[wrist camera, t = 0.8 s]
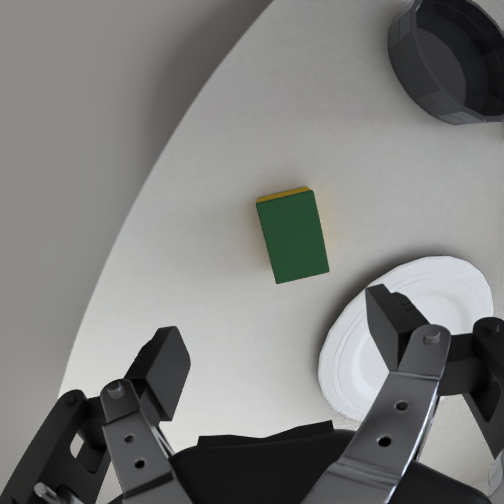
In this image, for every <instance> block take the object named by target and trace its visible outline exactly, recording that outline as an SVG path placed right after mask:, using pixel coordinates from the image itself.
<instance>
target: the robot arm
mask: <svg viewBox="0 0 504 504" xmlns="http://www.w3.org/2000/svg"><path fill="white" fill-rule="evenodd" d="M365 299H366V311H367V322H368V328H369V331H370V334H371V336H372V338H373V340H374V342H375V344H376V346H377V348H378V350H379V352H380V354H381V356H382V358H383V360H384V362H385V364H386V366H387V368H388V370H389V374H388V376H387V378H386V380H385V382H384V384H383V386H382V388H381V389H380V391H379V393H378V395H377V397H376V399H375V401H374V403H373V404H372V406H371V408H370V410H369V412H368V413H367V415H366V417H365V419H364V420H363V422H362V424H361V425H360V427H359V429H358V430H357V431H353V430H346V429H334V428H333V423H332V420H329V421H325V422H320V423H314V424H309V425H304V426H298V427H295V428H292V429H290V430H287V431H284V432H281V433H278V434H275V435H272V436H269V437H265V438H254V437H245V436H237V435H214V436H199V439H198V443H197V445H196V446H193V447H189V448H186V449H184V450H182V451H180V452H178V453H176V454H175V452H174V450H173V449H172V447H171V445H170V444H169V442H168V440H167V438H166V437H165V435H164V433H163V431H162V430H161V428H160V427H159V423H160V421H172V419H173V416H174V413H175V410H176V407H177V404H178V401H179V398H180V395H181V393H182V390H183V387H184V384H185V381H186V378H187V375H188V373H189V370H190V366H191V362H190V356H189V353H188V351H187V349H186V346H185V344H184V342H183V339H182V337H181V335H180V332H179V330H178V328H177V327H176V326H170V327H163V328H159V329H158V330H157V331H156V333H155V335H154V336H153V338H152V340H150V341H149V342H147V343H146V344H145V345H144V346H143V347H142V348H141V350H140V352H139V353H138V356H137V357H136V358H135V360H134V362H133V363H132V365H131V366H130V368H129V370H128V371H127V373H126V375H125V376H124V378H123V379H117V380H114V381H112V382H110V383H109V384H107V385H106V386H105V387H104V388H103V389H102V391H101V393H100V396H98V397H93V398H89V399H87V397H86V396H85V395H84V393H83V392H82V391H81V390H77V389H76V390H71V391H68V392H67V393H65V394H63V395H62V396H61V397H60V398H59V400H58V401H57V403H56V404H55V406H54V407H53V409H52V410H51V412H50V413H49V415H48V416H47V418H46V419H45V421H44V423H43V424H42V426H41V427H40V429H39V430H38V432H37V434H36V435H35V437H34V438H33V440H32V442H31V443H30V445H29V446H28V448H27V450H26V451H25V453H24V455H23V456H22V458H21V460H20V462H19V463H18V465H17V467H16V468H15V470H14V472H13V474H12V476H11V477H10V479H9V481H8V483H7V485H6V487H5V488H4V490H3V492H2V494H1V496H0V504H95V503H96V500H97V497H98V494H99V491H100V489H101V486H102V483H103V480H104V478H105V475H106V472H107V470H108V467H109V464H110V462H111V460H112V463H113V466H114V469H115V472H116V475H117V477H118V480H119V483H120V486H121V489H122V491H123V493H122V494H121V495H119V496H118V497H117V498H115V499H114V500H112V501H111V502H109V503H108V504H504V321H503V320H502V319H499V318H496V317H484V318H481V319H479V320H477V321H476V322H475V323H474V325H473V329H472V333H465V334H458V335H451V333H450V331H449V330H448V329H447V328H446V327H444V326H441V325H437V324H430V323H429V321H428V320H427V319H426V318H425V317H424V316H423V314H422V313H421V312H420V311H419V310H418V309H417V308H416V306H415V305H414V304H413V303H412V302H411V301H410V299H409V298H408V297H407V296H406V295H403V294H401V293H399V292H394V293H391V292H390V291H389V290H388V289H387V288H386V286H385V285H384V284H383V283H382V284H378V285H374V286H370V287H366V288H365ZM457 394H462V395H463V397H464V399H465V401H466V403H467V404H468V406H469V408H470V410H471V412H472V414H473V416H474V418H475V420H476V422H477V424H478V426H479V428H480V430H481V432H482V434H483V436H484V438H485V440H486V442H487V444H488V446H489V448H490V451H491V453H492V455H493V457H494V459H495V461H494V463H493V464H492V466H491V467H490V470H489V473H488V481H489V493H488V496H486V495H485V494H484V493H482V492H481V491H479V490H478V489H476V488H473V487H471V486H469V485H466V484H464V483H462V482H459V481H457V480H455V479H453V478H451V477H448V476H446V475H444V474H442V473H440V472H438V471H436V470H434V469H432V468H430V467H428V466H426V465H424V464H422V463H420V462H418V461H419V458H420V456H421V453H422V450H423V448H424V445H425V442H426V439H427V436H428V434H429V431H430V428H431V425H432V422H433V420H434V417H435V414H436V411H437V407H438V404H439V401H440V398H441V396H450V395H457ZM76 433H77V434H78V435H79V436H80V437H81V438H82V439H83V441H84V443H83V445H82V447H81V449H80V451H79V453H78V455H77V457H76V459H75V458H74V456H73V455H72V454H71V450H70V445H71V442H72V440H73V438H74V437H75V435H76Z"/></svg>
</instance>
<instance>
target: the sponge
mask: <svg viewBox="0 0 504 504" xmlns="http://www.w3.org/2000/svg"><path fill="white" fill-rule="evenodd" d="M256 207H257V211H258V215H259V219H260V222H261V226H262V230H263V234H264V238H265V242H266V246H267V249H268V253H269V257H270V261H271V265H272V269H273V273H274V277H275V281H276V284H280V283H284V282H289V281H293V280H297V279H302V278H306V277H310V276H315V275H319V274H323V273H327V272H329V265H328V260H327V254H326V249H325V244H324V239H323V234H322V229H321V224H320V219H319V215H318V210H317V205H316V201H315V196H314V192H313V191H312V190H311V189H309V188H308V187H302V188H298V189H293V190H289V191H285V192H281V193H276V194H272V195H268V196H264V197H260V198H258V199H257V203H256Z"/></svg>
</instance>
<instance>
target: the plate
mask: <svg viewBox="0 0 504 504" xmlns="http://www.w3.org/2000/svg"><path fill="white" fill-rule="evenodd" d="M382 283H383V284H384V285H385V286H386V288H387V289H388V290H389V291H390V292H391V293H394V292H399V293H401V294H403V295H406V296H407V297H408V298H409V299H410V301H411V302H412V303H413V304H414V305H415V306H416V308H417V309H418V310H419V311H420V312H421V313H422V314H423V316H424V317H425V318H426V319H427V320H428V321H429V323H430V324H437V325H441V326H444V327H446V328H447V329H448V330H449V331H450V333H451V335H458V334H465V333H472V329H473V325H474V323H475V322H476V321H477V320H479V319H481V318H484V317H493V311H494V308H493V301H492V294H491V290H490V288H489V286H488V284H487V282H486V280H485V278H484V276H483V274H482V273H481V272H480V271H478V270H477V269H476V268H475V267H474V266H473V265H471V264H470V263H469V262H467V261H464V260H461V259H458V258H455V257H451V256H448V255H446V256H425V257H421V258H418V259H415V260H412V261H409V262H406V263H404V264H401V265H398V266H396V267H394V268H393V269H391V270H389V271H388V272H386V273H385V274H383V275H381V276H380V277H378V278H376V279H375V280H373V281H372V282H370V283H369V284H368V285H367V286H366V287H370V286H374V285H378V284H382ZM366 287H365V288H366ZM365 288H364V289H363V290H362V291H361V292H359V293H358V294H357V295H356V296H355V297H354V298H353V299H352V300H351V301H350V302H349V303H348V304H347V305H346V306H345V308H344V309H343V310H342V312H341V313H340V315H339V316H338V318H337V319H336V320H335V322H334V323H333V325H332V326H331V327H330V329H329V331H328V334H327V336H326V339H325V341H324V344H323V346H322V349H321V351H320V355H319V366H318V379H319V383H320V387H321V391H322V394H323V396H324V397H325V398H326V400H327V401H328V402H329V404H330V405H331V406H332V408H333V409H335V410H337V411H338V412H340V413H341V414H343V415H345V416H346V417H348V418H352V419H356V420H360V421H363V420H364V419H365V417H366V415H367V413H368V412H369V410H370V408H371V406H372V404H373V403H374V401H375V399H376V397H377V395H378V393H379V391H380V389H381V388H382V386H383V384H384V382H385V380H386V378H387V376H388V374H389V370H388V368H387V366H386V364H385V362H384V360H383V358H382V356H381V354H380V352H379V350H378V348H377V346H376V344H375V342H374V340H373V338H372V336H371V334H370V331H369V328H368V322H367V311H366V299H365ZM445 397H446V396H441V398H440V401H441V400H442V399H444V398H445Z"/></svg>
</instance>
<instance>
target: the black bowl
mask: <svg viewBox="0 0 504 504" xmlns="http://www.w3.org/2000/svg"><path fill="white" fill-rule="evenodd" d="M388 50H389V56H390V60H391V63H392V66H393V68H394V71H395V73H396V75H397V77H398V79H399V81H400V82H401V84H402V86H403V87H404V89H405V90H406V91H407V93H408V94H409V95H410V96H411V98H412V99H413V100H414V101H415V102H416V103H417V104H418V105H419V106H420V107H421V108H422V109H424V110H425V111H426V112H427V113H429V114H430V115H432V116H434V117H435V118H437V119H439V120H441V121H444V122H447V123H450V124H454V125H463V124H476V123H489V122H502V121H504V33H503V32H502V30H501V29H500V27H499V26H498V24H497V23H496V22H495V21H494V20H493V19H492V18H491V17H490V16H489V15H488V14H487V13H486V12H485V11H484V10H483V9H482V8H481V7H480V6H479V5H478V4H477V3H475V2H473V1H472V0H412V1H411V2H410V3H409V4H408V5H407V6H406V7H405V8H404V9H403V10H402V11H401V12H400V13H399V14H398V16H397V17H396V19H395V20H394V21H393V23H392V25H391V27H390V30H389V34H388Z"/></svg>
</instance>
